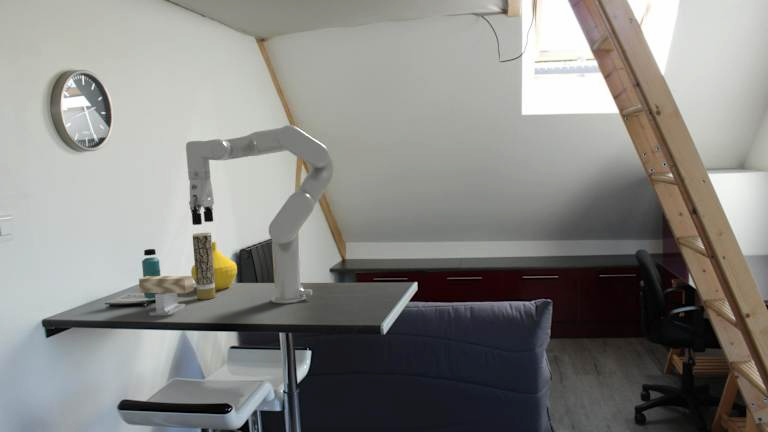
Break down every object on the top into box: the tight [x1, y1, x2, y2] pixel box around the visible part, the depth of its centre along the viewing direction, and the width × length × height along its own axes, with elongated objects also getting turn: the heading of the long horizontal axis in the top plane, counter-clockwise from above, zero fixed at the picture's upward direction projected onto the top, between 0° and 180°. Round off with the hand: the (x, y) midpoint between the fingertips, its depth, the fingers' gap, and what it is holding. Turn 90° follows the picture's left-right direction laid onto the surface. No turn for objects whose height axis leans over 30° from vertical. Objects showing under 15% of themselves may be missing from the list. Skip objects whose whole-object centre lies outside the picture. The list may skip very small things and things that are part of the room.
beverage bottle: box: [141, 248, 161, 300], centre depth 225 cm, size 6×7×20 cm
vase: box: [190, 241, 238, 291], centre depth 243 cm, size 18×18×19 cm
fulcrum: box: [149, 293, 186, 316], centre depth 208 cm, size 7×12×7 cm, turn 173°
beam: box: [138, 275, 195, 294], centre depth 207 cm, size 18×5×5 cm, turn 77°
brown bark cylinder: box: [192, 232, 216, 301], centre depth 225 cm, size 7×7×25 cm
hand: (203, 223), depth 211 cm, fingers open, 9 cm apart
